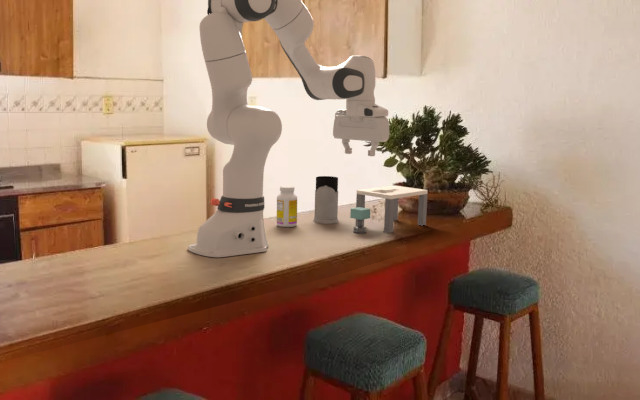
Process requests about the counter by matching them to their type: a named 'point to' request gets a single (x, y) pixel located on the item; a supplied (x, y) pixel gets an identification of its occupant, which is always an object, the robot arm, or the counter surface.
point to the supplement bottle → (287, 207)
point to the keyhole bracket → (394, 202)
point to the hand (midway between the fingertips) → (359, 154)
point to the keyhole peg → (360, 218)
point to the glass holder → (326, 200)
